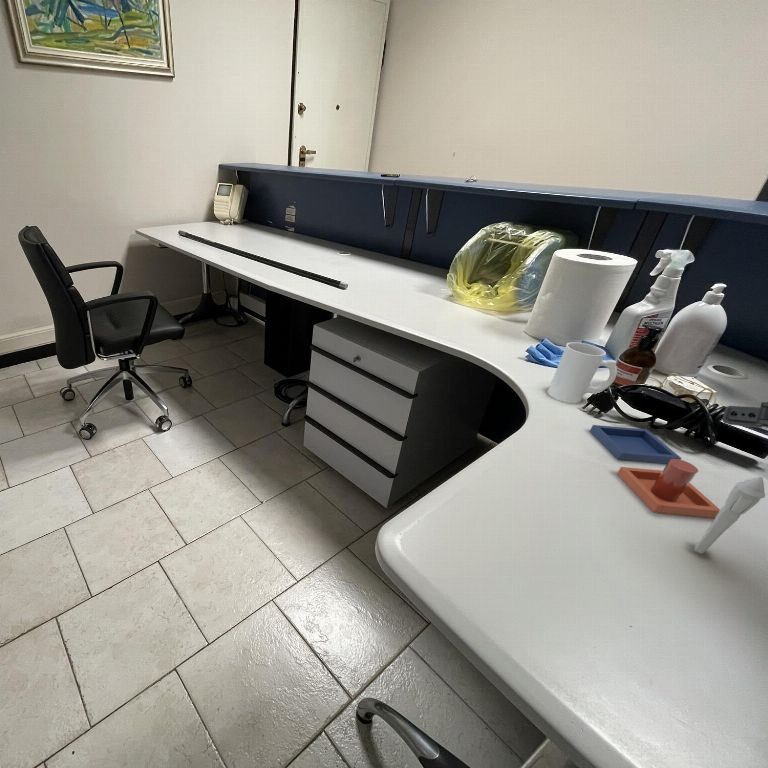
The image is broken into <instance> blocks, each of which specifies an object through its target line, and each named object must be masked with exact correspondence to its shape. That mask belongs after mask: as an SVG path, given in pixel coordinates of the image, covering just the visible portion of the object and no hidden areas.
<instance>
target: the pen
mask: <svg viewBox="0 0 768 768" xmlns="http://www.w3.org/2000/svg"><path fill="white" fill-rule="evenodd" d="M765 497H766V492H765V482H764V479H763V476H756V477H752V478H748V479H745V480H743V481H739V482H736V483H735V485H734V486H733V488H732V489H731V491H730V492H729V494H728V496H727V497H726V500H725V503H724V505H723V506H722V507H721V508H719V509H720V511H719V513H718V514H717V516H716V518H713V520H712V522H711V524H710V526H709V527H707V529H706V531H705V532H704V534H703V535H702V536H701V538H700V539H699V540H698V542H696V545H695V546H694V552H696V553H698V554H701V555H703V554H704V553H706V551H707V550H708V549H709V548H711V546H712V545H713V544H714V543H715V542H716V541H717V540H718V539H719V538H720V537H721V536H722V535H723V534H724V533H725V532H726V531H727V530H728V529H730V527H731V526H732V525H734V524H735V523H737V521H738V520H739V518H740V517H741V516H742V515H744V514H746V513H747V512H749V511H750V510H751V509H752V508H753V507H755V506H756V504H758V503H759V502H760V501H761V500H762V499H764V498H765Z"/></svg>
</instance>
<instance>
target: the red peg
mask: <svg viewBox="0 0 768 768" xmlns="http://www.w3.org/2000/svg"><path fill="white" fill-rule="evenodd" d="M698 472H699V469H698V468H697V466H695V465H694V464H692V463H690V462H688V461H686V460H683V459H681V460H680V459H671V460H670V461H669V462H668V464H665V467H664V468H663V469H662V473H661V474H660V476H659V477H658V478H657V480H656V481H655V483H654V484H653V486H652V487H651V492H652V493H653V494H654V495H655V496H657V497H658V498H660V499H663V500H665V501H669V502H675V501H677V499H678V498H679V497H680V495H681V494H682V493H683V491H684V490H685V488H686V487H687V486H688V484H689V483H690V484H691V482H692V480H693V479H694V478H695V477H696V475H697V473H698Z"/></svg>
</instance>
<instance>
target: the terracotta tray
mask: <svg viewBox="0 0 768 768" xmlns="http://www.w3.org/2000/svg"><path fill="white" fill-rule="evenodd" d="M662 471H663V469H662V470H660V469H649V468H638V467H627V466H620V468H619V469H618V471H617V472H616V474H617V476H618V477H619V478H620V479H621V480H622V481H623V482H624V483H625V484H626V485H627V486H628V487H629V488H630V489H631V491H633V493H634V494H635V495H636V496H637V497H638V498H639V499H640V500H641V501H642V502H643V503H644V504H645V505H646V506H647V507H648V508H649V510H650V511H652V513H656V514H666V515H676V516H687V517H696V518H697V517H698V518H708V519H715V518H716V516H717V514H718V513H719V511H720V509H721V508H719V507H718V506H717V505H716V504H715V503H713V501H711V500H710V499H709V498H708V497H707V496H706V495H704V494H703V493H702V492H701V491H699V489H697V488H696V487H695V486H694V485H693V484H692V483H691V482H690V483H689V484H688V486H687V487H686V488H685V490H684V491H683V493H682V494H681V495H680V497H679V498H678V499H677V501H675V502H669V501H665V500H663V499H660V498H658V497H657V496H655V495H654V494H653V493H652V492H651V487H652V486H653V484H654V483H655V481H656V480H657V478H658V477H659V476H660V474H661V473H662Z"/></svg>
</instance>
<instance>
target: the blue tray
mask: <svg viewBox="0 0 768 768" xmlns="http://www.w3.org/2000/svg"><path fill="white" fill-rule="evenodd" d="M589 433H590V434H592V436H594V438H595V439H596V440H597V441H598V442H600V444H601V445H602V446H603V447H604V448H605V449H606V450H607V451H608V452H609V453H610V454H611V455H612V456H613V457H614V458H615V459H616V460H617V461H623V462H636V463H637V462H639V463H647V464H648V463H649V464H660V465H667V464H668V462H669V461H670V460H671V459H680V460H682V457H681V456H680V455H679V454H677V453H676V452H675V451H674V450H672V449H671V448H670V447H669V446H668V445H666V444H665V443H664V442H663V441H662V440H660V439H659V438H658V437H657V436H656V435H654V434H653V433H652V432H651V431H650V430H648V429H647V428H639V427H638V428H637V427H624V426H611V425H598V424H592V425H591V428H590V430H589Z"/></svg>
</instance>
